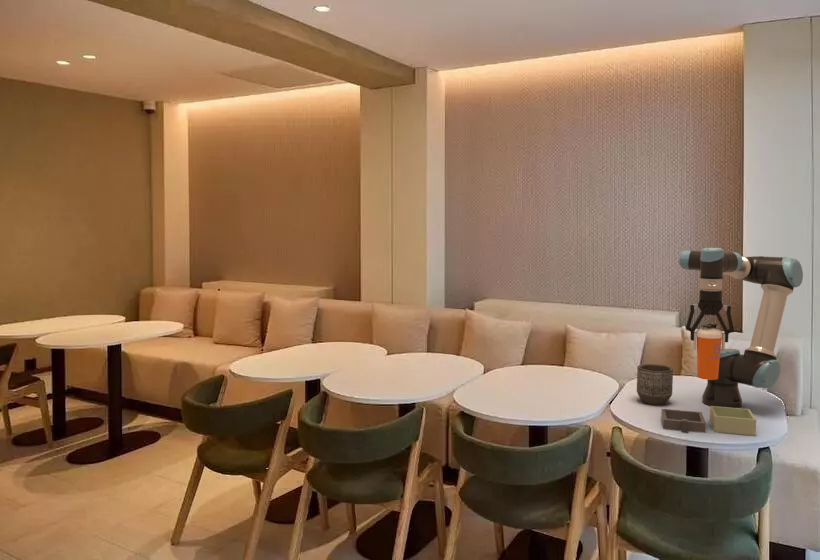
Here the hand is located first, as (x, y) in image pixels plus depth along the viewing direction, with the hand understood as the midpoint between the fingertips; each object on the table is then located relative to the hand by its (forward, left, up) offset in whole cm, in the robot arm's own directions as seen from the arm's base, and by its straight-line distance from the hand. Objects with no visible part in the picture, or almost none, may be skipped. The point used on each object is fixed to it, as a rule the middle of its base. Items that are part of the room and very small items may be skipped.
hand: (708, 350), depth 239 cm
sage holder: (0, +9, -29) cm, 31 cm away
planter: (-28, -17, -29) cm, 44 cm away
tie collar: (+2, -8, -29) cm, 30 cm away
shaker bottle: (0, 0, -11) cm, 11 cm away
